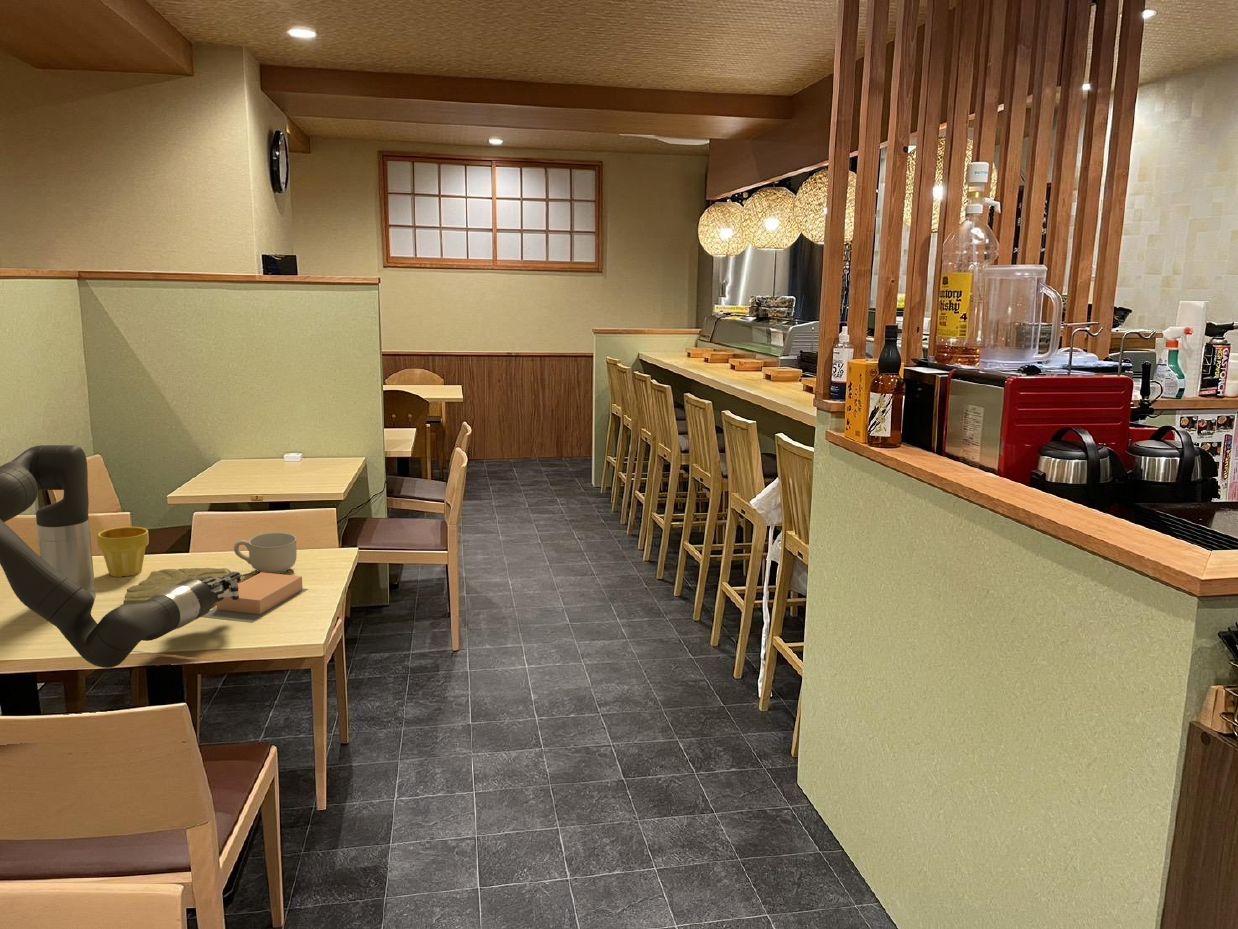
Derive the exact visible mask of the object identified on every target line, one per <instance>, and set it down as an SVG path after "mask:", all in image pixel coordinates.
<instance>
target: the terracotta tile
mask: <svg viewBox="0 0 1238 929" xmlns="http://www.w3.org/2000/svg"><path fill="white" fill-rule="evenodd" d="M302 589H304V588H303V576H301V575H291V574H284V573H281V574H273V573H263V572H261V573H260V572H258V573H257V574H256V575H253V576H251V577H250V578H248V579H246V580H244V581H242V582H240V583H238V590H239V599H238V600H232V598H229V597H224V599H223V600H222V601H219V602H216V607H217V610H226V611H235V612H245V613H254V614H262V613H263V612H265V611H267V610H268V609H270V608H272V607H273V606H275V605H277V604H279V603H280V602H282V601H284V600H285V599H287V598H289V597H290V596H292V595H294V594H295V593H297V592H299V591H301V590H302Z"/></svg>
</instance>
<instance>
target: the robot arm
mask: <svg viewBox="0 0 1238 929" xmlns="http://www.w3.org/2000/svg"><path fill="white" fill-rule="evenodd" d="M88 475H89V473H88V460H87V456H86V452H85V451H84V449H83V448H82V447H81V446H79V445H76V444H75V445H74V444H73V445H72V444H57V445H56V444H50V445H49V444H48V445H47V444H46V445H45V444H43V445H41V444H40V445H35V446H31V447H29V448H27V449H26V450H24V451H23V452H21V454H19V455H18V456H17V457H15V458H13V460H11V461H9V462H7V463H4V464H2V465H0V567H1V569H2V571H3V573H4V574H5V577H6V579H7V581H8V584H9V585H10V588H11V589H12V591H13V593H14V595H16V598H17V599H18V600H19V601H20V602H21V603H22V604H23V605H24V606H26V607H27V608H28V609H29V610H31V611H32V612H34V613H35V614H36V615H38V616H40V617H41V618H43V619H44V620H45V621H47V622H49V623H50V624H51V625H53V626H54V627H56V629H57V630H58V631H59V632H60V633H61V634H62V635H63V637H64V638H65V639H66V641H68V643H69V644H70V645H71V647H73V649H75V651H76V652H77V653H78V654H79V655H80V657H81V658H82V659H84V660H85V661H87V663H89V664H91V665H93V666H95V667H98V668H104V669H110V668H115V667H118V666H119V665H120V664H122V663H123V662H124V661H125V659H126V658H127V657H128V656H129V655H130V653H132V651H133V650H135V648H136V647H137V646H138V645H139V643H140V642H142V641H144V642H149V641H150V642H151V641H154V640H157V639H159V638H161V637H164V636H165V635H167V634H169V633H171V632H172V631H175V630H178V629H180V628H183V627H185V626H187V625H188V624H190V623H192V622H195V621H196V620H198V619H199V618H203V617H202V616H204V615H205V614H207V613H208V612H209V611H211V610H212V608H213V607H214V606H213V604H214V603H215V602H219V601H222V600H223V599H224V597H229V598H232V600H238V599H239V590H238V584H240V583H242V582H241V580H242V579H241V578H242V577H241V572H239V571H231V573H229V574H227V575H225V576H218V577H216V578H213V577H212V576H209V577H204V578H198V579H188V580H185V581H182V582H181V583H179V584H177V585H174V586H172V587H170V588H168V589H166V590H164V591H162V592H160V593H159V594H157V595H156V596H154V597H152V598H150V599H148V600H146V601H143V602H141V603H135V604H129V605H119V606H118V607H115V608H113V609H112V610H110V611H108V612H107V613H106V614H105V615H104V616H103V617H102V618H101V619H100V621H98V622H96V620H95V619H94V617H93V616H92V610H93V607H94V605H95V599H96V585H95V573H94V563H93V562H94V561H93V551H92V550H93V549H92V539H91V529H90V519H89V517H90V516H89V506H90V505H89V504H90V502H89V487H88V486H89V485H88V484H89V482H88V479H89V478H88V477H89V476H88ZM39 491H63V497H62V499H60V500H59V501H57V502H54V503H50V504H47V505H44V506H42V507H40V508H39V509H38V510H36V513H35V518H36V520H35V521H36V528H37V538H38V548H39V549H38V550H39V554H38V553H36V551H34V549H33V548H31V547H30V546H29V545H28V544H27V543H26V542H25V541H24V540H23V539H22V538H21V537H20V536H19V535H18V534H17V533H16V532H15V531H14V530H13V529H12V528H10V526H9V525H7V523H6V522H7V521H10V520H12V519H13V518H15V517H17V516H18V515H21V514H22V513H23V512H26V511H27V510H28V509H29V508H30V507H32V505H33V504H35V501H36V499H37V497H38V493H39Z"/></svg>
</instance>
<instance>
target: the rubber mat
mask: <svg viewBox="0 0 1238 929" xmlns="http://www.w3.org/2000/svg"><path fill="white" fill-rule="evenodd" d="M308 590H309V589H308V588H303V589H302V590H301V591H299V592H297V593H295V594H294V595H292V596H290V597H289V598H287V599H285V600H284V601H282V602H280V603H279V604H277V605H275V606H273V607H272V608H270V609H268V610H267V611H265V612H263V613H262V614H254V613H245V612H235V611H226V610H217V606H215V607H214V608H213V609H212V608H211V609H210V611H209V612H208V613H207V614H205V615H204V616H202V617H201V618H205V619H206V618H207V619H215V620H216V619H218V620H225V621H233V622H241V623H243V622H244V623H251V624H252V623H253V624H254V623H255V622H257V621H258V620H260V619H261V618H263V617H265V616H266V615H268V614H270V613H272V612H274V611H275V610H276V609H278V608H280V607H281V606H283V605H284V604H286V603H288V602H289V601H291V600H293V599H294V598H296V597H298V596H300V595H301V594H303V593H305V592H306V591H308Z"/></svg>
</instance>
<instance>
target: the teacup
mask: <svg viewBox="0 0 1238 929" xmlns="http://www.w3.org/2000/svg"><path fill="white" fill-rule="evenodd" d="M297 541H298V538H297V536H296V535H294V534H291V533H287V532H267V533H261V534H257V535H254V536H252V537H251V538H249V539H248V540H246V539H240V540H237V542H235V543H234V546H233V552H234V553H235V555H236V556H237V557H238V558H240V559H241V560H244V561H246V563H248V565H251V567H252V569H254V570H255V571H257V572H258V573H261V572H263V573H273V574H280V573H281V574H284V573H287V572H288V571H289V570H290V569H291V568H293V567H294V565H295V564H296V562H297V557H298V556H297V552H298V551H297ZM242 545H243V546H245V547H246V549H247V551H248V555H245V554H243V553H242V551H240V549H239V547H240V546H242ZM287 570H288V571H287ZM283 572H284V573H283Z"/></svg>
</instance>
